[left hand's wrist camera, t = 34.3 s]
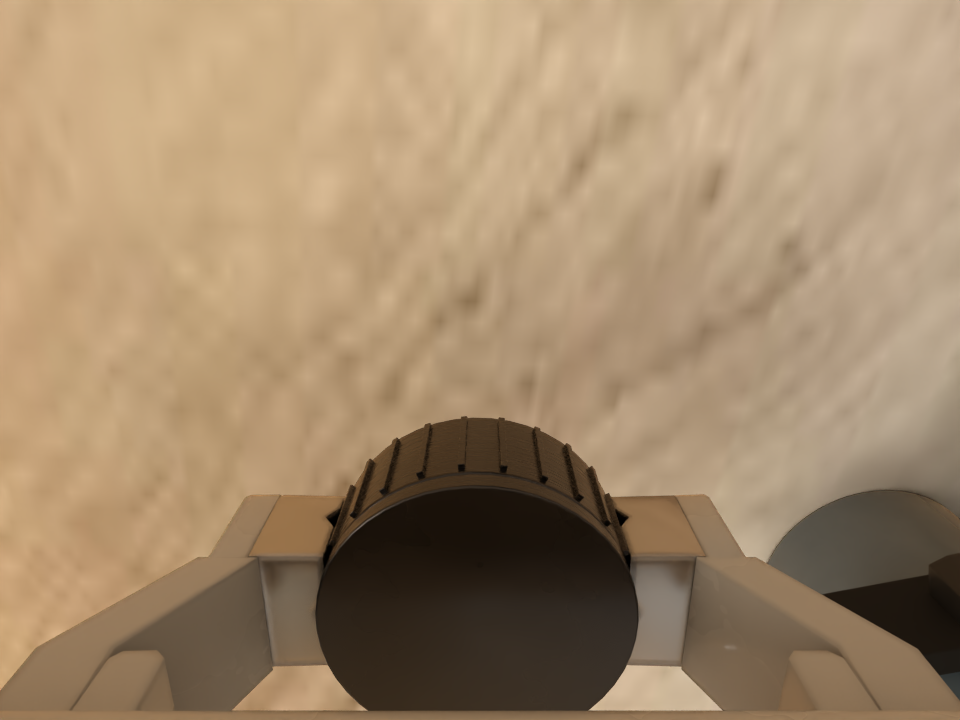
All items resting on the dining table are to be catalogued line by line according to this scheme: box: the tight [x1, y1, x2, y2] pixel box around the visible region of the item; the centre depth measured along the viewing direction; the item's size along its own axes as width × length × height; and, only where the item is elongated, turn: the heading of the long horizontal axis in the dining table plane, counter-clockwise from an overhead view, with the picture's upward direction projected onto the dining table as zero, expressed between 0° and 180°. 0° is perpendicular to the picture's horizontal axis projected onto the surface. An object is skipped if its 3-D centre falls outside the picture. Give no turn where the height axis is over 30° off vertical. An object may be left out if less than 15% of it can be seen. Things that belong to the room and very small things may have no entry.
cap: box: [315, 416, 639, 711], centre depth 9 cm, size 4×4×2 cm
